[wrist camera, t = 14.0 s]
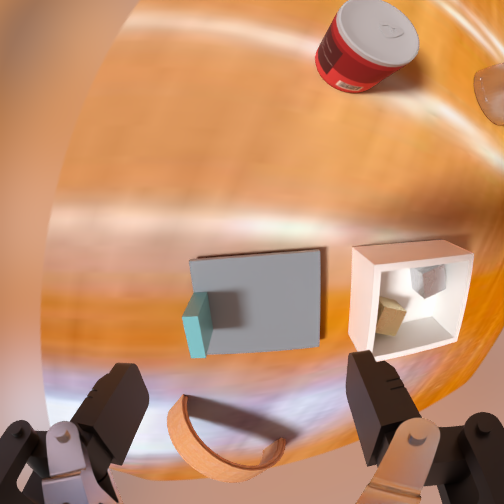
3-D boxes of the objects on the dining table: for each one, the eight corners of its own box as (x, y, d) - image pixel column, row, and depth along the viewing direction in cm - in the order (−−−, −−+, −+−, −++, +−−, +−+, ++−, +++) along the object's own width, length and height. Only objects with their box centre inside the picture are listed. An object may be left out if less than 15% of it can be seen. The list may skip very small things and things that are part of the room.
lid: (316, 246, 33) (334, 268, 25) (316, 338, 36) (329, 375, 29) (192, 256, 33) (175, 280, 26) (207, 346, 37) (197, 384, 29)
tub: (442, 239, 32) (474, 253, 25) (432, 318, 35) (456, 341, 29) (352, 246, 33) (374, 264, 26) (348, 333, 36) (364, 363, 29)
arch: (265, 452, 43) (266, 494, 34) (168, 410, 40) (154, 455, 31) (285, 438, 42) (289, 482, 32) (183, 392, 39) (169, 440, 30)
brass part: (395, 300, 34) (406, 311, 30) (384, 323, 35) (395, 336, 31) (374, 294, 33) (384, 306, 30) (363, 318, 34) (372, 332, 31)
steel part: (429, 255, 32) (444, 263, 29) (432, 279, 33) (446, 288, 30) (409, 264, 32) (422, 274, 29) (412, 288, 33) (424, 299, 30)
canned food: (387, 81, 27) (434, 53, 16) (337, 105, 28) (375, 77, 18) (352, 32, 25) (385, -10, 15) (300, 53, 27) (319, 7, 16)
